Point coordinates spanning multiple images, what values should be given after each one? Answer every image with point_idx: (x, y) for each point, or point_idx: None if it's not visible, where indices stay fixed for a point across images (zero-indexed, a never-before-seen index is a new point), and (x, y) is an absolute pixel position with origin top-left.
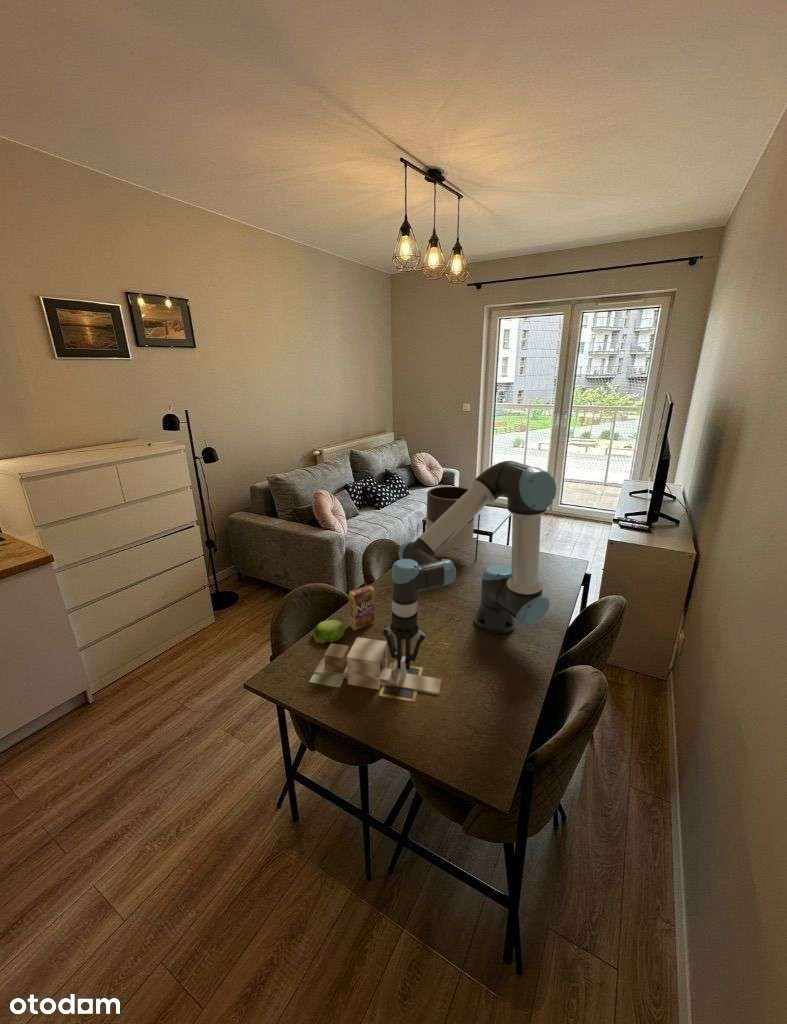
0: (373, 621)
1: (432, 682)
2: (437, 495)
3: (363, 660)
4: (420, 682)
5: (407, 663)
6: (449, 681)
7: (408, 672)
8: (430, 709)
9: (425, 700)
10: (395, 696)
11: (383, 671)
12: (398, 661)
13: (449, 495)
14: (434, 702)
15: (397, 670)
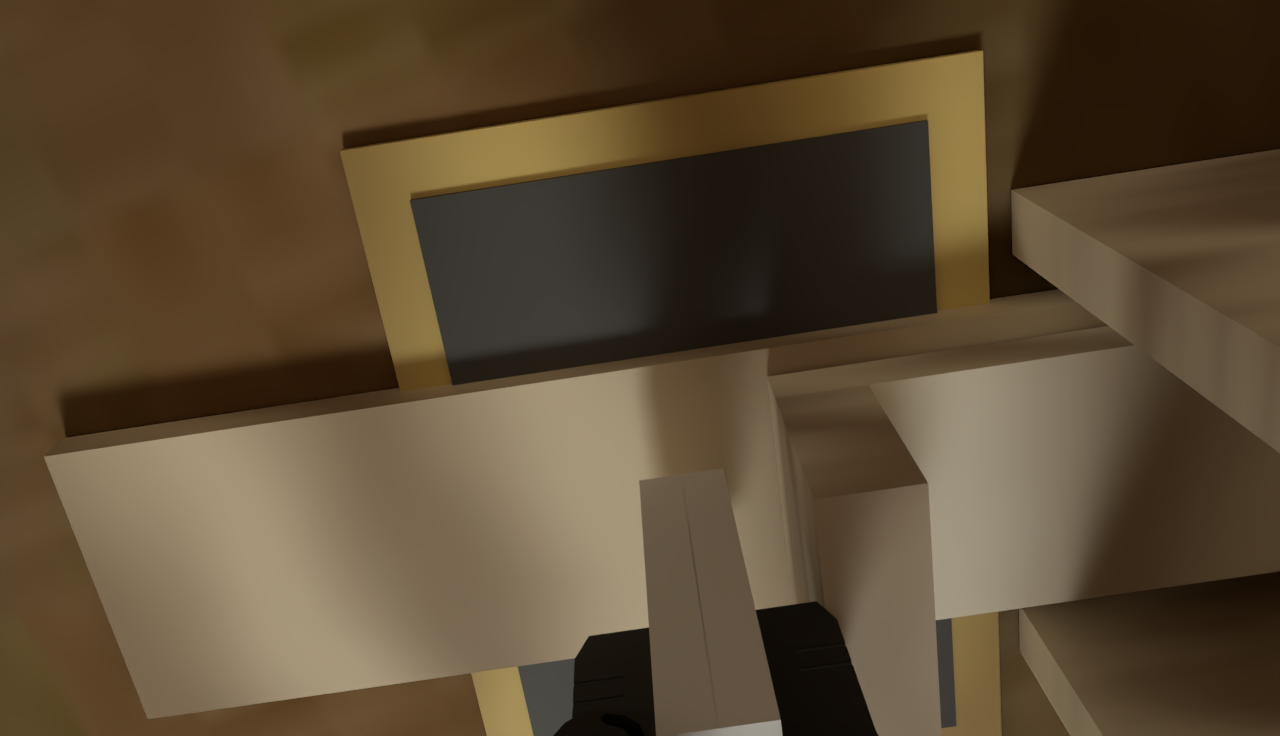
0: None
1: (239, 612)
2: None
3: None
4: (411, 549)
5: (585, 722)
6: (56, 725)
7: None
8: (38, 99)
9: (204, 255)
10: (693, 138)
11: (1061, 527)
12: (842, 722)
13: None
14: (54, 269)
15: (813, 566)
